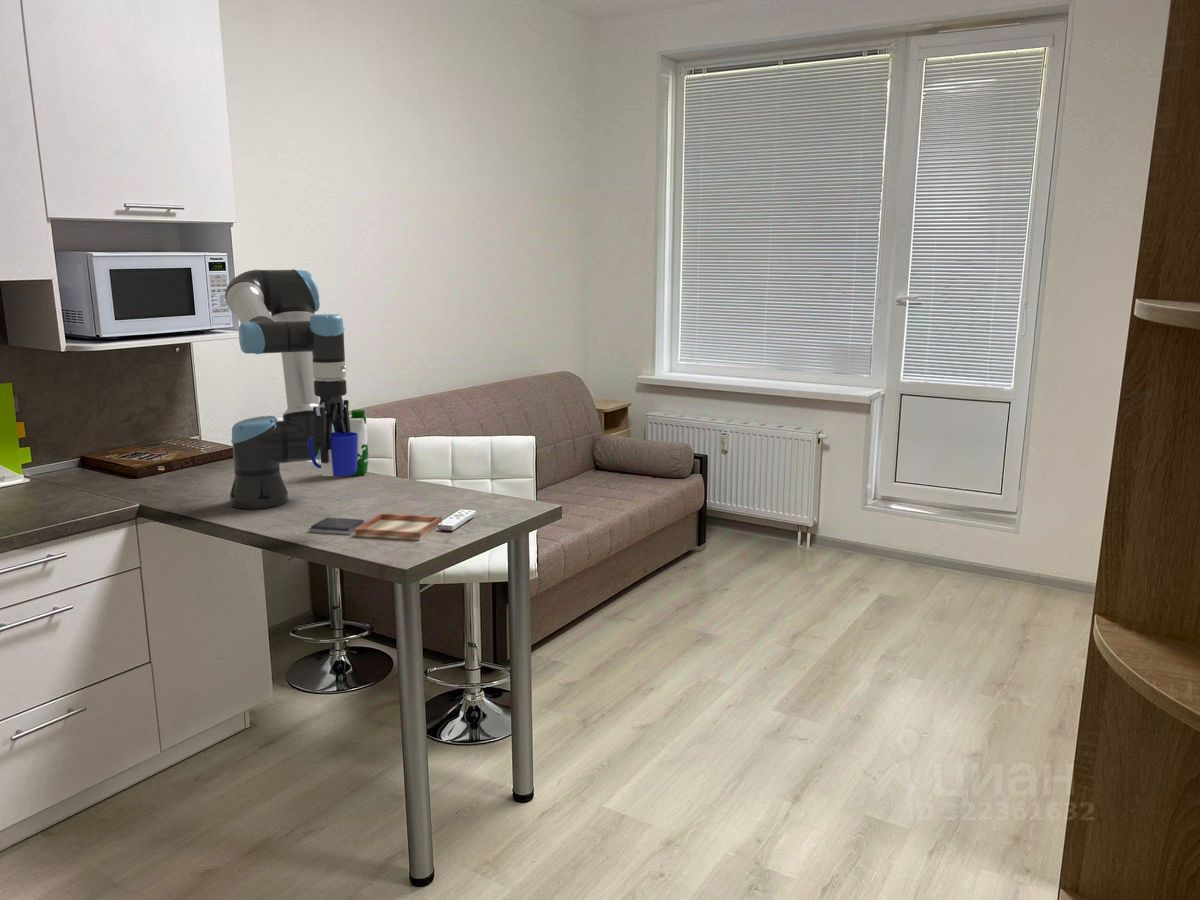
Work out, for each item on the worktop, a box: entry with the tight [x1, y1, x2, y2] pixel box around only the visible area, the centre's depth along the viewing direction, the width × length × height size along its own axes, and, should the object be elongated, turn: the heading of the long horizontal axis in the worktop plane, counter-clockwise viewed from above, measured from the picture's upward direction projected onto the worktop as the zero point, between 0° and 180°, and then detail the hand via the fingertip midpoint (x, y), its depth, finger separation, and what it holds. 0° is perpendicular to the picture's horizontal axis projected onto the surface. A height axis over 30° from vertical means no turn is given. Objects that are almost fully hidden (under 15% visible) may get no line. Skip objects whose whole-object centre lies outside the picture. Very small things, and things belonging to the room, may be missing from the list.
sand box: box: [354, 512, 443, 541], centre depth 225 cm, size 17×15×2 cm
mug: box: [308, 432, 358, 478], centre depth 223 cm, size 8×12×10 cm
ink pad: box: [308, 517, 366, 535], centre depth 227 cm, size 11×9×1 cm
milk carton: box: [349, 409, 369, 477], centre depth 285 cm, size 9×9×20 cm
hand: (334, 472), depth 224 cm, fingers closed on mug, 7 cm apart
